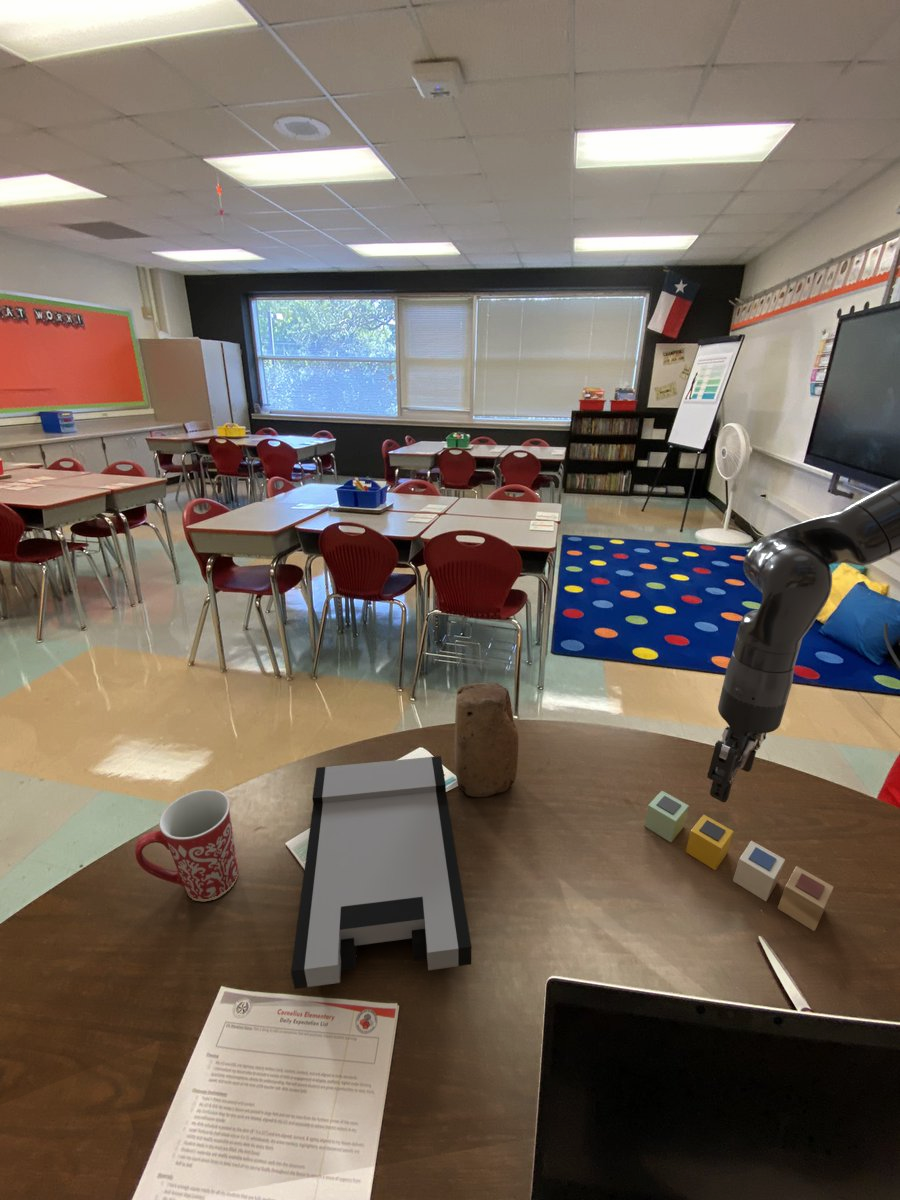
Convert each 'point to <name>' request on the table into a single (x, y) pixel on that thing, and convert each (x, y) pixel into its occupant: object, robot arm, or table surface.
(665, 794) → the block
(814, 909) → the block
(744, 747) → the robot arm
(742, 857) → the block
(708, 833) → the yellow block
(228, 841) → the mug
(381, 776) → the grey notched sloped slab
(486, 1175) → the table surface
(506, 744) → the block
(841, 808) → the table surface
